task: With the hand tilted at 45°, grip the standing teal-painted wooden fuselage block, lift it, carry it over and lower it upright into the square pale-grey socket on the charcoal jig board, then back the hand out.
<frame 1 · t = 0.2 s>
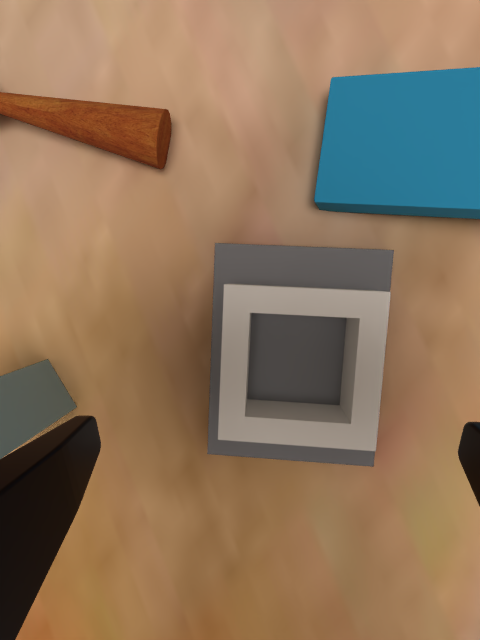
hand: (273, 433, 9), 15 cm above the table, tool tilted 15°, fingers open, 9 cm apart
blue long block: (464, 170, 22), on the table
fuselage block: (39, 395, 25), on the table
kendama: (29, 122, 24), on the table
jig board: (294, 353, 24), on the table
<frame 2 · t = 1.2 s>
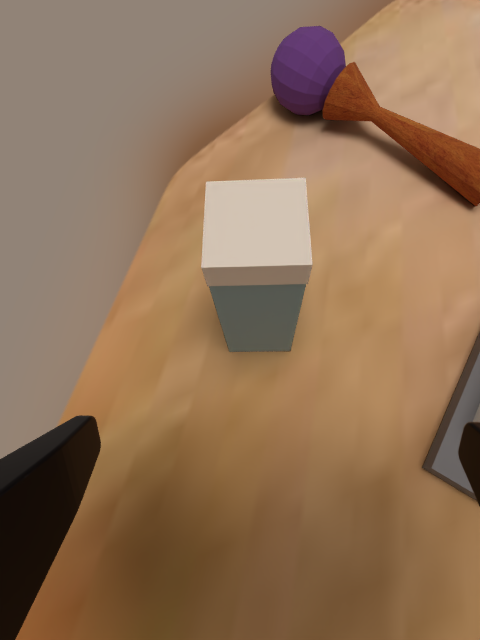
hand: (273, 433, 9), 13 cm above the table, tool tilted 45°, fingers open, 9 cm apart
fuselage block: (259, 323, 24), on the table
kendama: (369, 144, 30), on the table
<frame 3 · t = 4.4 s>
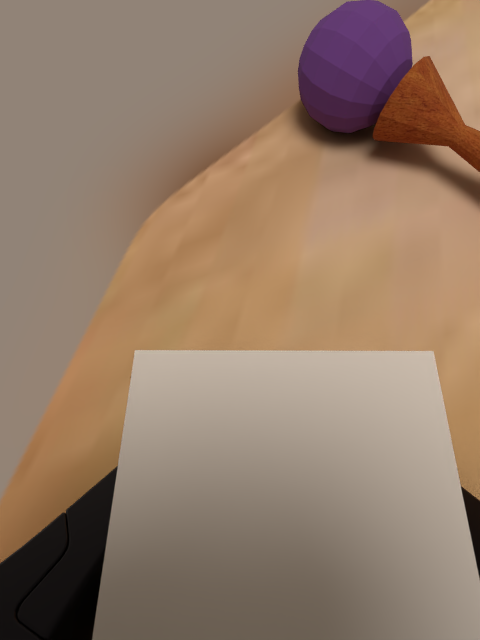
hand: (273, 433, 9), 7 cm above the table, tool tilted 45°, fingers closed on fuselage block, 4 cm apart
fuselage block: (269, 486, 14), on the table, touching gripper
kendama: (438, 178, 20), on the table
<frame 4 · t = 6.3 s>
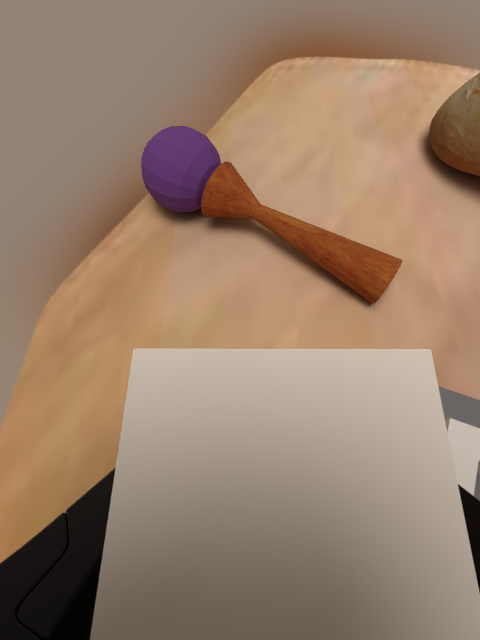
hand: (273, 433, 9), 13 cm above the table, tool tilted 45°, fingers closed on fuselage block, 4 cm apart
fuselage block: (269, 485, 14), point 7 cm above the table, touching gripper
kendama: (261, 235, 28), on the table
when the fingers open (9 cm above the table, at t = 8.6 s): fuselage block drops 1 cm, resting on jig board.
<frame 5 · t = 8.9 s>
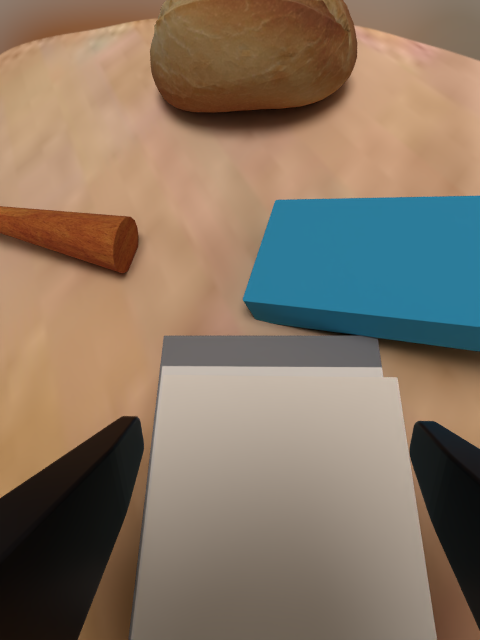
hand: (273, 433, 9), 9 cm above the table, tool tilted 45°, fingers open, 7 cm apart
blue long block: (418, 306, 20), on the table
fuselage block: (269, 484, 15), point 1 cm above the table, touching jig board
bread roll: (252, 98, 28), on the table
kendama: (1, 239, 24), on the table
jig board: (269, 484, 17), on the table
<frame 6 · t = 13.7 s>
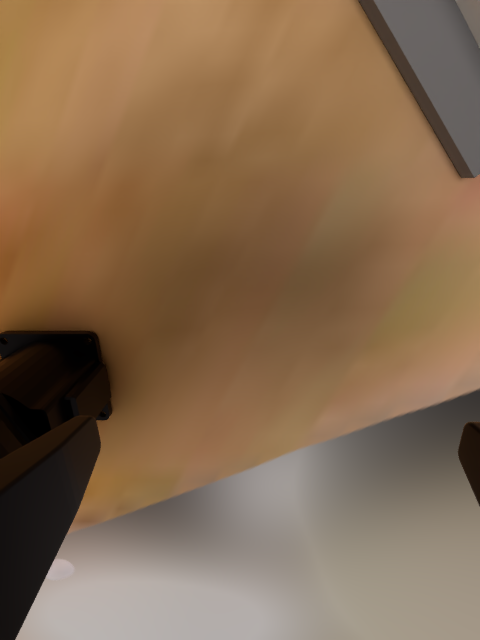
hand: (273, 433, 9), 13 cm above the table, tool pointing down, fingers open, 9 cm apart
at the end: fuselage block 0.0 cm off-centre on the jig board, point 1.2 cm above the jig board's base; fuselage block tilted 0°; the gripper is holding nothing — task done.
